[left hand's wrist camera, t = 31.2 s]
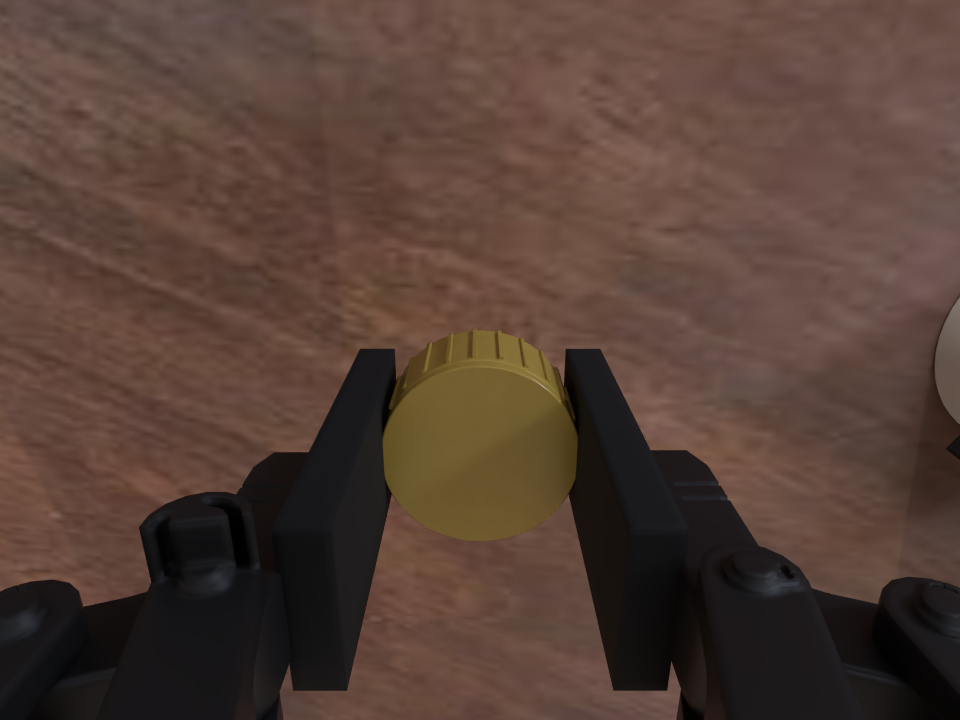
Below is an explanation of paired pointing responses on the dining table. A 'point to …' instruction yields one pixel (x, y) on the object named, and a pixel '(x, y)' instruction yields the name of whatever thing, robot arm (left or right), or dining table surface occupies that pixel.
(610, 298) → the dining table surface
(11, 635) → the left robot arm
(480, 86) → the dining table surface
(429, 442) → the cap
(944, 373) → the bottle
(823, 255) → the dining table surface
